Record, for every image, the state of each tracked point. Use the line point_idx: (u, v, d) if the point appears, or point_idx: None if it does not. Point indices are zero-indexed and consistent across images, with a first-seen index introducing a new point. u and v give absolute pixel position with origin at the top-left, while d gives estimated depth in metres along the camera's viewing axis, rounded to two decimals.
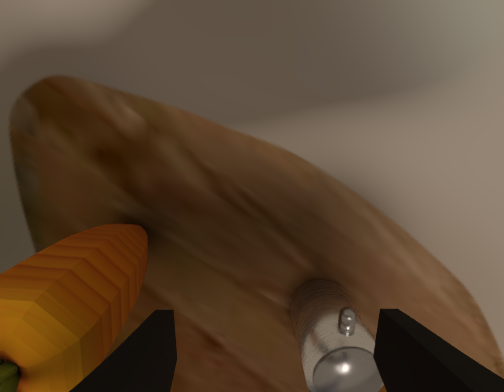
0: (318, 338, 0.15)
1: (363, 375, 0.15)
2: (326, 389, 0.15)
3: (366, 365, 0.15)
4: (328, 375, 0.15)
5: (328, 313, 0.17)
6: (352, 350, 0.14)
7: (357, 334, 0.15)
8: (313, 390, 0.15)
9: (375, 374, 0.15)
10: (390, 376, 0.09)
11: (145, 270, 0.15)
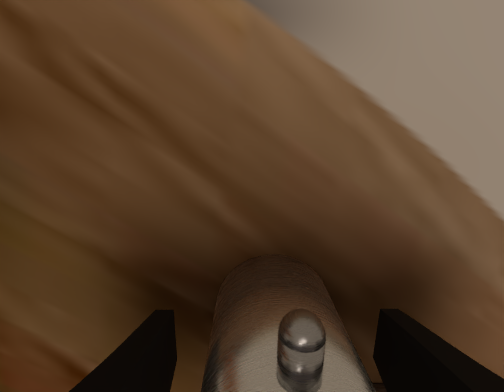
0: None
1: None
2: None
3: None
4: None
5: (266, 325, 0.07)
6: None
7: (332, 387, 0.05)
8: None
9: None
10: (390, 376, 0.09)
11: None
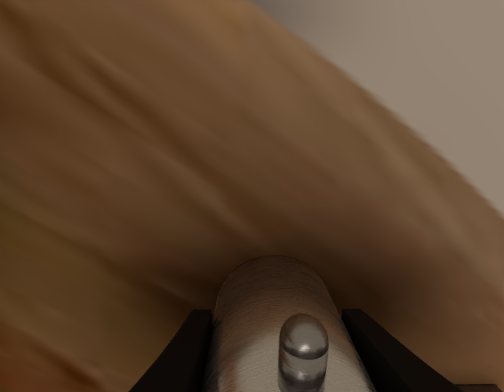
0: None
1: None
2: None
3: None
4: None
5: (267, 329, 0.07)
6: None
7: None
8: None
9: None
10: None
11: None
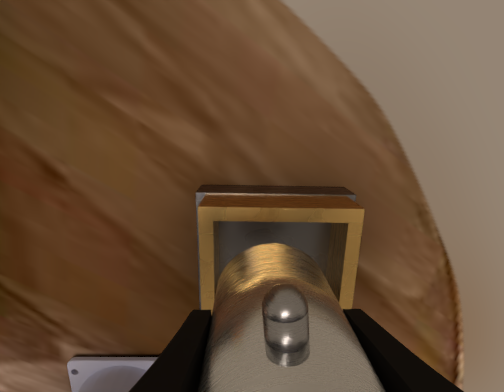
0: (217, 376, 0.06)
1: None
2: None
3: None
4: None
5: (258, 307, 0.07)
6: None
7: (320, 357, 0.05)
8: None
9: None
10: None
11: None
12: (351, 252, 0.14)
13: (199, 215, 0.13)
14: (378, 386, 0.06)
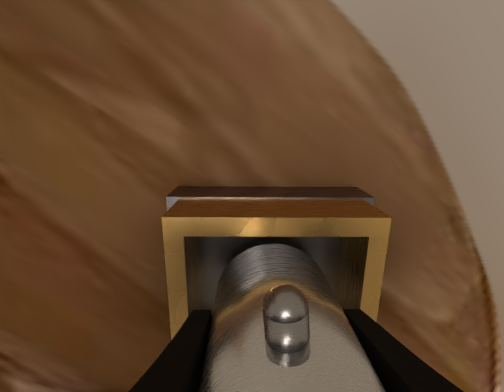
0: (217, 377, 0.06)
1: None
2: None
3: None
4: None
5: (258, 308, 0.07)
6: None
7: (320, 358, 0.05)
8: None
9: None
10: None
11: None
12: (372, 276, 0.10)
13: (164, 229, 0.09)
14: (379, 386, 0.06)
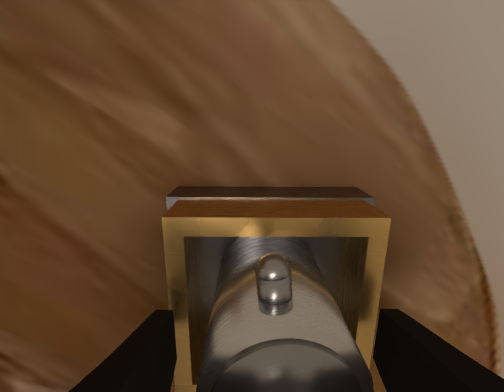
0: (220, 327, 0.07)
1: None
2: None
3: (319, 377, 0.06)
4: None
5: (253, 277, 0.09)
6: (282, 347, 0.06)
7: (301, 310, 0.07)
8: None
9: None
10: (391, 376, 0.09)
11: None
12: (372, 277, 0.10)
13: (164, 229, 0.09)
14: (346, 333, 0.07)
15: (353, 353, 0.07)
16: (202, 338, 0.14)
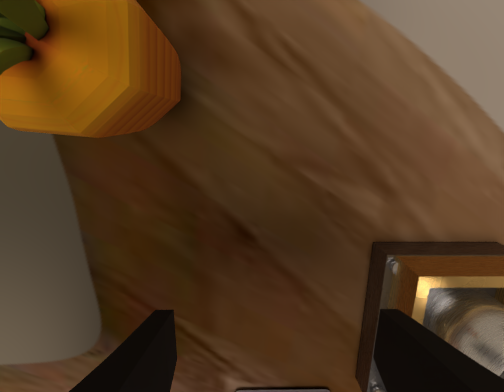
0: (491, 346, 0.13)
1: None
2: None
3: None
4: None
5: (487, 315, 0.14)
6: None
7: None
8: None
9: None
10: (391, 376, 0.09)
11: None
12: None
13: (419, 283, 0.15)
14: None
15: None
16: None
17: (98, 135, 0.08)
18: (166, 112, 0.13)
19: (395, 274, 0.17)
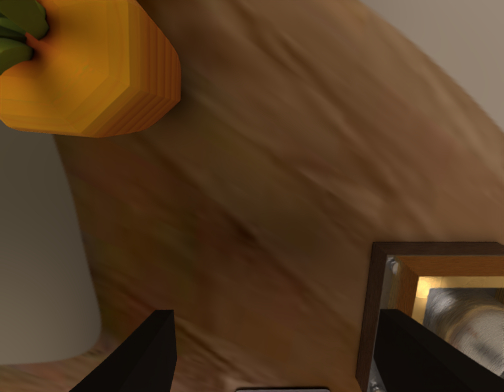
0: (491, 345, 0.13)
1: None
2: None
3: None
4: None
5: (487, 315, 0.14)
6: None
7: None
8: None
9: None
10: (390, 376, 0.09)
11: None
12: None
13: (419, 283, 0.15)
14: None
15: None
16: None
17: (98, 135, 0.08)
18: (166, 112, 0.13)
19: (395, 274, 0.17)
